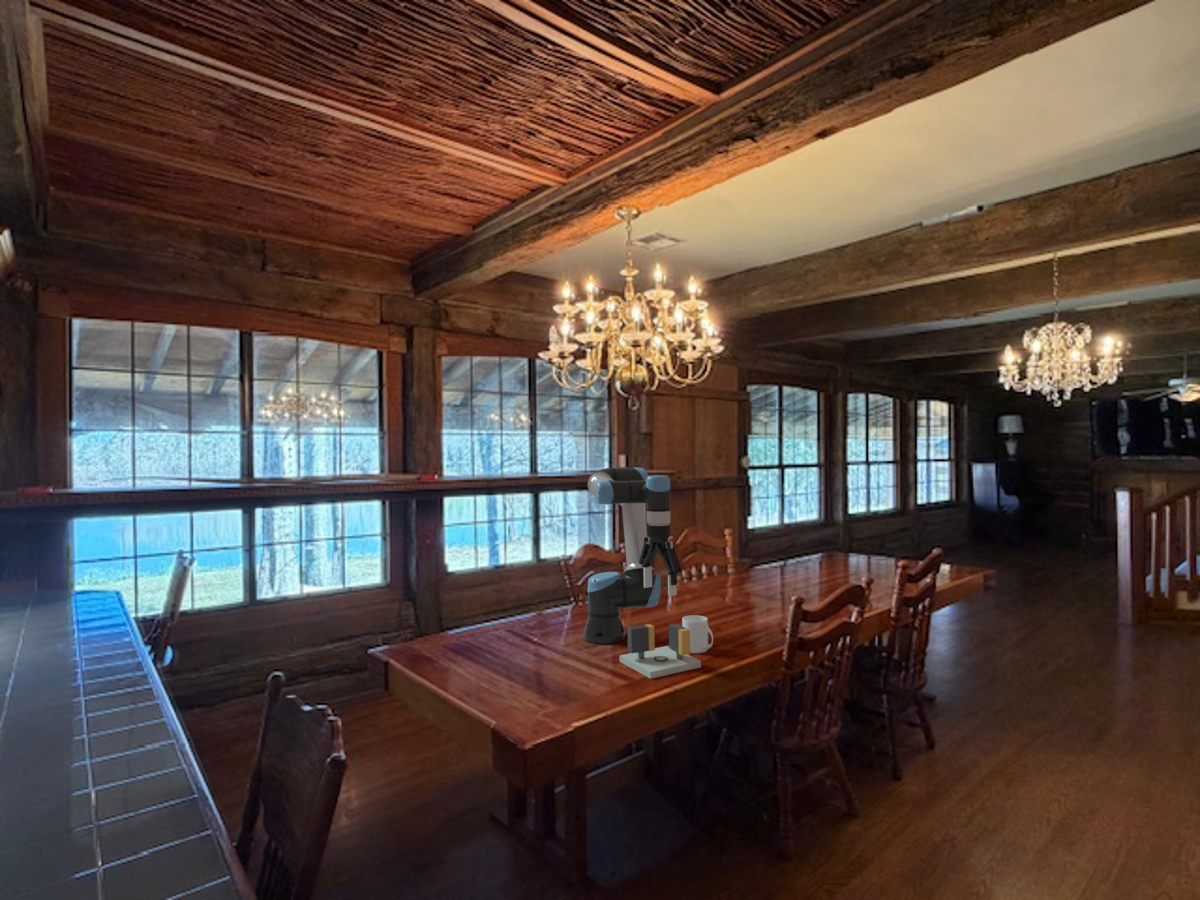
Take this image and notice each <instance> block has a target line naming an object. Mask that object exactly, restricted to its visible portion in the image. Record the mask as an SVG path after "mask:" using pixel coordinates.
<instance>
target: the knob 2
mask: <svg viewBox="0 0 1200 900" xmlns="http://www.w3.org/2000/svg"><path fill="white" fill-rule="evenodd" d="M668 646H669V648H670V649H672V650H673V651H675V652H676V656H677V659H683V655H689V656H690V655H691V654H692V653H691V650H690V630H689V629H687V628H685V627H683V626H682V625H681V624H679V623H674V624H669V625H668Z"/></svg>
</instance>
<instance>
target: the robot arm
mask: <svg viewBox="0 0 1200 900" xmlns="http://www.w3.org/2000/svg"><path fill="white" fill-rule="evenodd" d="M670 480H671V479H670V477H669V476H668V475H658V474H657V475H649V473H648V472H647V470H646V468H644V467H635V466H634V467H633V466H632V467H606V468H602V469H599V470H596V471H594V472H593V473H592V474H591V475H589V477H588V478H587V484H586V486H587V490H588V492H589V493H590V494H591V495H592V496H594V497H595V499H596V503H597V504H599V505H618V504H619V505H620V506H621V510H622V521H623V522H622V523H623V533H624V534H623V535H624V544H625V546H624V547H625V557H626V559H625V560H626V568H625V569H624V570H623V575H620V573H619V572H617V571H606V572H605V571H603V572H599V573H596V574H593V575H591V576H590V577H589V578H588V580H587V589H586V590H587V615H588V617H587V620H586V623H585V626H584V631H583V639H584V641H586V642H588V643H592V644H599V645H601V644H602V645H604V644H606V645H607V644H615V643H620V642H621V641H624V640H625V639H626V629H625V628H624V624H623V621H622V618H621V610H622V609H637V608H644V609H645V608H646V609H647V608H653V607H655V606H657V605H658V603H659V602H660V598H661V588H662V587H661V586H662V585H661V583H662V581H661V577H660V574H657V573H656V572H655V568H654V567H652V566H653V565H652V562H653V561H654V559H655V557H656V555H659V556H660V557H662V559H663V563H664V564H665V567H666V568H667V571H668V574H667V596H668V597H671V596H672V597H673V596H677V592H678V590H677V585H678V575H679V574H682V572H683V570H682V567H681V564H680V560H679V557H678V554H677V549H676V543H675V541H669V538H670V537H671V536H672V529H671V527H672V526H671V524H670V523H671V488H672V485H671V481H670ZM645 504H646V510H645ZM645 511H646V512H645Z"/></svg>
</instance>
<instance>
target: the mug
mask: <svg viewBox="0 0 1200 900" xmlns="http://www.w3.org/2000/svg"><path fill="white" fill-rule="evenodd" d="M681 621H682V623H681V624H682V625H681V626H683V627H685V628H687V629H689V630H690V650H691V654H703V653H706V652H707V651H708V650H709V649H711V648H712V646H713V643H714V635H713V632H712V630H711V628H710V627H709V619H708V617H706V616H704V615H684V616H683V617H682V619H681ZM709 635H710V636H711V642H710V643H709Z"/></svg>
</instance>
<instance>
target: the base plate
mask: <svg viewBox="0 0 1200 900" xmlns="http://www.w3.org/2000/svg"><path fill="white" fill-rule="evenodd" d="M619 662H620V663H621V664H624V665H625V666H627V667H629V668H630V669H632V670H634V671H636V672H637V673H640V674H641V675H643V676H644V677H646V678H648V679H650V680H652V679H656V678H660V677H665V676H669V675H672V674H677V673H681V672H687V671H689V670H690V671H691V670H695V669H698V668H699V669H700V668H702V661H701V660H699V659H698V658H695V657H693V656H691V655H690V654H689V655H683V659H677V656H676V652H675V651H673V650H672V649H670V648H669V645H665V646H661V647H655V650H653V651H645V652H644V658H643V659H640V658H638V653H630V652H629V653H625V654H621V655H619Z"/></svg>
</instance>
